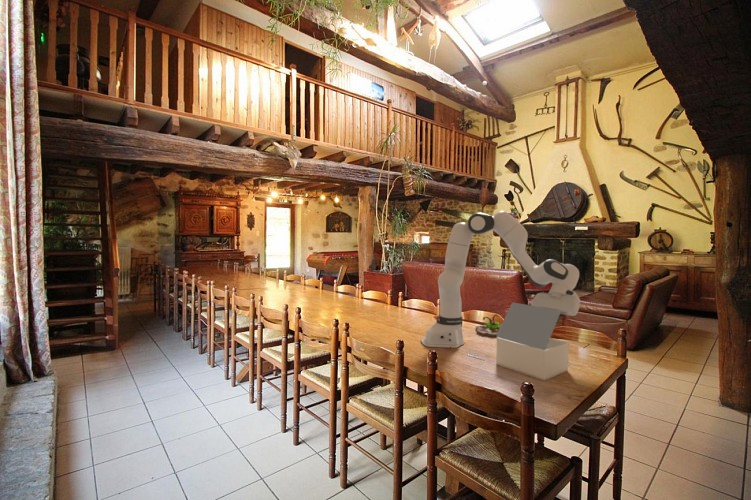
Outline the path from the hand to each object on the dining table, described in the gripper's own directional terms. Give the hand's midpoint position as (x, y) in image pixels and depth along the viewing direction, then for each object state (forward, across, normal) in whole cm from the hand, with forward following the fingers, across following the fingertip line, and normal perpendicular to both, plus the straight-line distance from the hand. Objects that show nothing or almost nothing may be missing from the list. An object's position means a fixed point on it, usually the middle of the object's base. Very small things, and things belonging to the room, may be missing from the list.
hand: (547, 318), depth 160 cm
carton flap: (+11, 0, -11) cm, 16 cm away
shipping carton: (+23, 0, +5) cm, 23 cm away
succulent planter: (0, -43, +28) cm, 52 cm away
